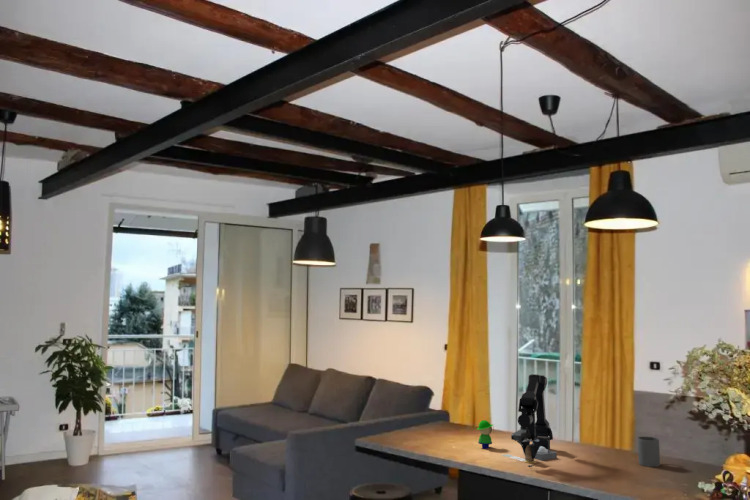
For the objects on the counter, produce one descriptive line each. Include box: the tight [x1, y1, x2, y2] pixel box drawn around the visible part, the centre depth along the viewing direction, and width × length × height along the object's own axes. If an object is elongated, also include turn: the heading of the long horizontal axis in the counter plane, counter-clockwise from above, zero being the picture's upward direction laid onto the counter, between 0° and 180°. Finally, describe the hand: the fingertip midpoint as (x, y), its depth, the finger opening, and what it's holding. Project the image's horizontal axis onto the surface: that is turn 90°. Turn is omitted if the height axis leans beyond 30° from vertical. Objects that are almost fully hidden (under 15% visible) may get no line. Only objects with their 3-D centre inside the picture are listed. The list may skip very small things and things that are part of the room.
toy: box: [476, 420, 495, 450], centre depth 323 cm, size 9×9×15 cm
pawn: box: [524, 445, 535, 462], centre depth 292 cm, size 4×4×7 cm
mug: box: [637, 436, 661, 468], centre depth 293 cm, size 14×9×12 cm
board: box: [501, 453, 537, 468], centre depth 301 cm, size 20×22×1 cm
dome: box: [537, 446, 548, 454], centre depth 301 cm, size 6×6×5 cm
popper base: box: [534, 449, 558, 462], centre depth 301 cm, size 10×10×3 cm
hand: (529, 458), depth 291 cm, fingers closed on pawn, 4 cm apart
